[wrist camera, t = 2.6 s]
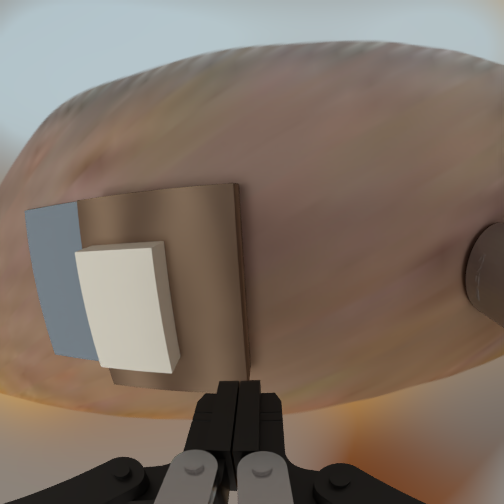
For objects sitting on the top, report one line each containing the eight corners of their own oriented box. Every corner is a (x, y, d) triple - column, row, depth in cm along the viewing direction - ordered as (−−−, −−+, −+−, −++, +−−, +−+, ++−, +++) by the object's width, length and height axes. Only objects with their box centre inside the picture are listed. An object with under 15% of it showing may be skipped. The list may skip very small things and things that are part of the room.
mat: (97, 198, 24) (95, 198, 23) (125, 361, 27) (124, 363, 27) (27, 210, 24) (24, 210, 24) (57, 352, 28) (55, 354, 27)
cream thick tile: (163, 240, 20) (151, 247, 18) (180, 356, 22) (172, 373, 20) (91, 245, 20) (74, 252, 18) (113, 352, 22) (101, 366, 20)
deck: (238, 183, 23) (233, 183, 19) (250, 366, 26) (247, 392, 22) (102, 197, 24) (76, 200, 20) (130, 362, 27) (114, 384, 23)
